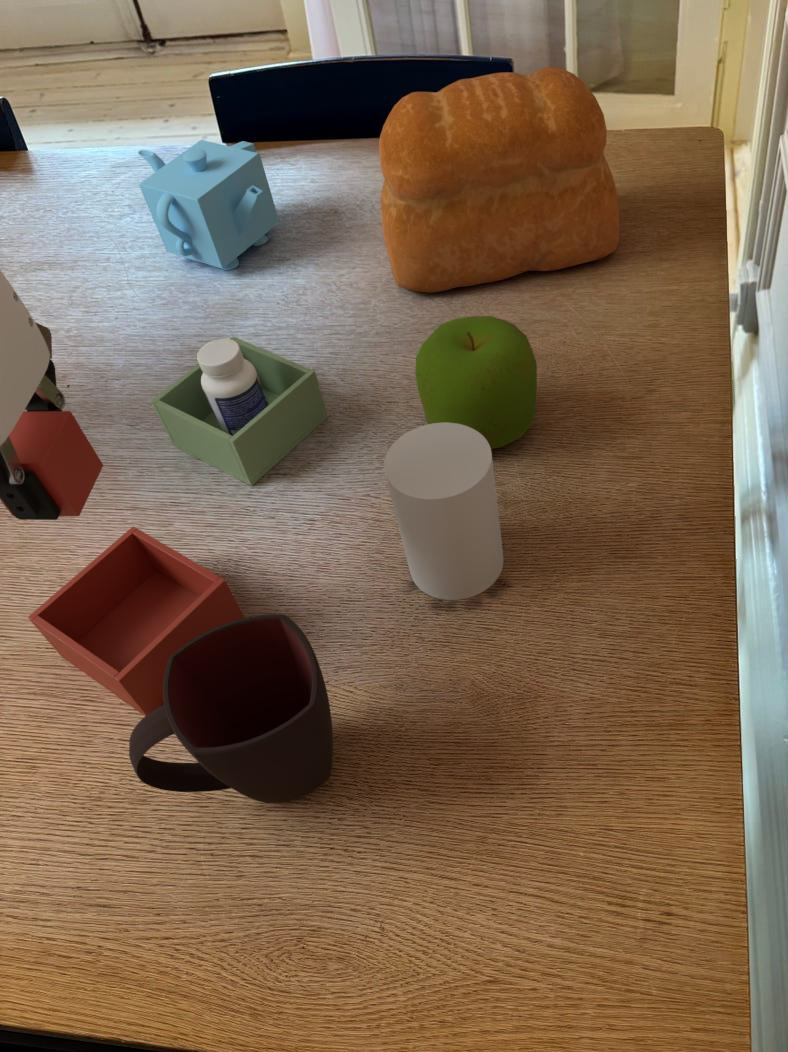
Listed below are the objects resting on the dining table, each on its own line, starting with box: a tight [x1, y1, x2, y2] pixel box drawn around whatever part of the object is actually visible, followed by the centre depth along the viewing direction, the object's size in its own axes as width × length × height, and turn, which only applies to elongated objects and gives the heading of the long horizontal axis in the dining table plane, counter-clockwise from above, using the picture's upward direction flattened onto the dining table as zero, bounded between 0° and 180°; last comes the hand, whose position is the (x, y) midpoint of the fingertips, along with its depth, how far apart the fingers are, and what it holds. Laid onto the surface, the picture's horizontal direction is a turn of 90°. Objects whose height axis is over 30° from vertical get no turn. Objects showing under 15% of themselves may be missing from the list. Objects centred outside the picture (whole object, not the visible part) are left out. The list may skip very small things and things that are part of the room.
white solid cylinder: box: [383, 423, 505, 601], centre depth 71 cm, size 8×8×12 cm
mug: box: [128, 613, 334, 804], centre depth 61 cm, size 10×14×12 cm
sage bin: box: [150, 336, 329, 487], centre depth 86 cm, size 11×11×6 cm
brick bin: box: [27, 525, 246, 717], centre depth 72 cm, size 11×11×6 cm
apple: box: [415, 315, 538, 450], centre depth 81 cm, size 11×11×11 cm
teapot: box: [137, 139, 280, 271], centre depth 104 cm, size 16×18×11 cm
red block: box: [0, 410, 104, 517], centre depth 60 cm, size 5×5×5 cm
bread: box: [378, 66, 620, 294], centre depth 95 cm, size 16×26×17 cm, turn 100°
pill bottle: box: [196, 338, 269, 436], centre depth 84 cm, size 5×5×9 cm
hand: (54, 484), depth 62 cm, fingers closed on red block, 5 cm apart
